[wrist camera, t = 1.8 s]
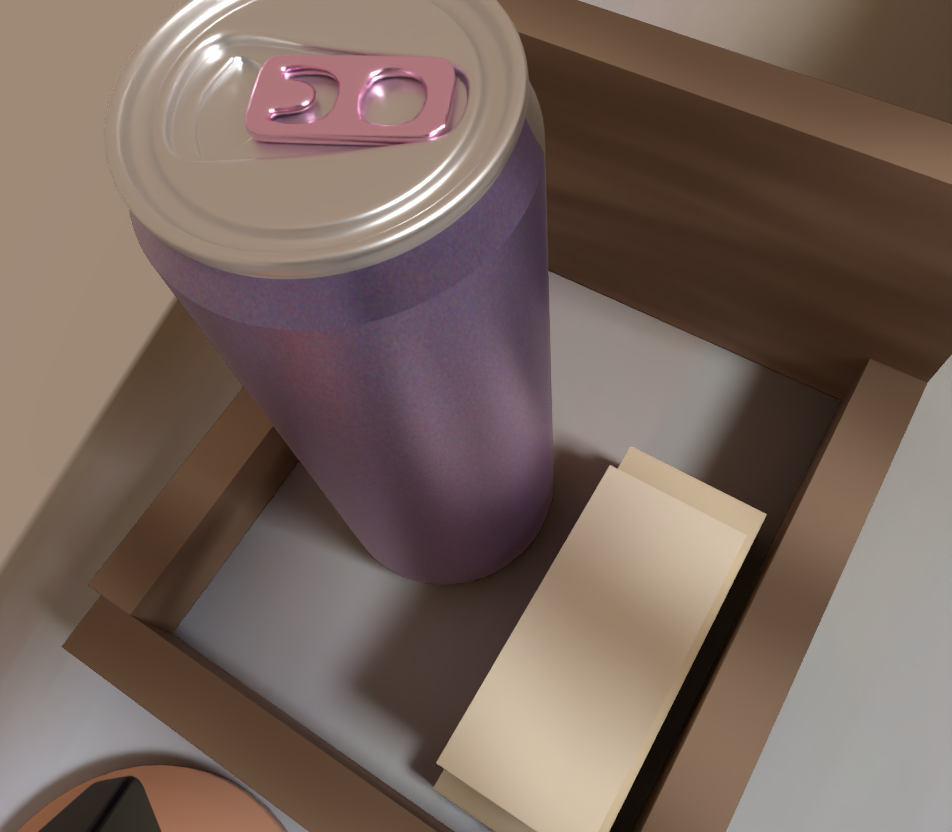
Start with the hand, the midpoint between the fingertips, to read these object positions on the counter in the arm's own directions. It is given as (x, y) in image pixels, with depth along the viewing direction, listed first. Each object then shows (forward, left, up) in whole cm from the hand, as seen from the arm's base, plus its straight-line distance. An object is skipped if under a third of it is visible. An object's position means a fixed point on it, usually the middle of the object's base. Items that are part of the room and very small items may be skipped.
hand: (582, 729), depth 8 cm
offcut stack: (+3, +1, -14) cm, 14 cm away
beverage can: (+5, +7, -14) cm, 16 cm away
